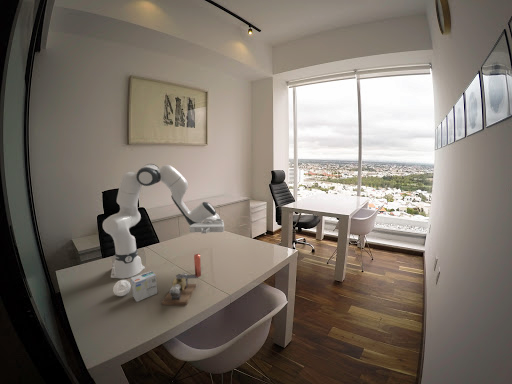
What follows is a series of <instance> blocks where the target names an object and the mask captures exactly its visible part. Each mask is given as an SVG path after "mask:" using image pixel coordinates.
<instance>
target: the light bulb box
mask: <svg viewBox="0 0 512 384" xmlns="http://www.w3.org/2000/svg"><path fill="white" fill-rule="evenodd" d="M130 284H131V291H132V297H134V298H133V299H134V300H135V302H136V303H138V302H140V301H142V300H145V299H147V298H150V297H152V296H154V295H157V294H158V283H157V275H156V273H155V272H154V271H152V270H150V271H147V272H144V273H141V274H137V275H135V276H132V277H130Z"/></svg>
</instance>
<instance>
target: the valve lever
mask: <svg viewBox="0 0 512 384" xmlns="http://www.w3.org/2000/svg"><path fill="white" fill-rule="evenodd" d="M193 262H194V274H187V275H181V274H182V273H178V274H176V275H175V278H176V280H181V279H182V278H188V279H199V278H200V277H202V267H201V265H202V263H201V254H200V253H195V254H193Z"/></svg>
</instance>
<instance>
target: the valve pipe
mask: <svg viewBox="0 0 512 384" xmlns="http://www.w3.org/2000/svg"><path fill="white" fill-rule="evenodd" d="M180 274H181V275H188V273H186V272H182V273H180ZM188 280H189V278H182V279H181V280H176V277H175V278H174V279H173V281H172V287H171V288H170V289H169V292H168V293H170V295H171V299H172V300H180V298H181V291H183V290H184V288H187V286H188V284H189V282H188Z"/></svg>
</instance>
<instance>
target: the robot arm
mask: <svg viewBox="0 0 512 384" xmlns="http://www.w3.org/2000/svg"><path fill="white" fill-rule="evenodd" d="M160 182H161V183H163V184H164V185H165V186H166V187H167V188H168V189H169V190H170V192H171V200H172V201H173V203H174V205H176V207H177V209H178V210H179V211H180V213H181V214H182V216H183V217H184V218H185V221H186V222H187V224H188V225H189V227H188V230H189V233H201V234H208V233H224V231H225V222H224V219H221V216H220V215H219V214H218V213H217V212H216V209H215V207H214V206H213V205H212V204H211V203H210V202H207V201H202V202H201V203H200V204H199V205H198V206H196V207H195V208H194V209H193V210H190V209H189V207H188V206H187V205H186V203H185V202H184V199H183V198H184V196H185V195H186V192H187V190H188V187H189V183H188V182H189V181H188V180H187V179H186V178H185V177H184V175H183V174H182V173H181V172H179V170H178V169H176V168H175V167H174V166H172V165H170V164H165V165H163V166H161V167H160V168H159V166H158V165H157V164H154V163H148V164H145V165H143V166H142V167H140V169H138V171H137V172H134V171H128V172H125V173H124V175H122V178H121V181H120V184H119V187H118V192H117V195H116V203H117V204H118V205H119V211H118V212H117V213H114V214H112V215H109V216H108V217H107V218H106V219H104V220H103V221H102V229H103V230H104V232H105V233H106V234H108V235H109V236H110V237H111V238H112V240H113V243H114V250H115V254H114V258H115V260H114V262H112V263H111V267H112V268H111V272H110V278H111V279H129V278H132V277H135V276H138V275H139V274H140V273H141V272H142V271H143V270H144V269H146V268H145V266H144V265H143V264H142V259H141V257H140V256H139V255H138V253H139V251H138V249H137V243H136V238H135V237H136V236H134V235H132V234H131V232H130V229H131V228H132V227H135V226H136V225H137V224H138V223H139V222H140V221H141V219H142V217H141V213H140V211H139V210H138V204H139V197H140V193H141V188H142V186H145V187H149V186H153V185H155V184H157V183H160Z"/></svg>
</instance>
